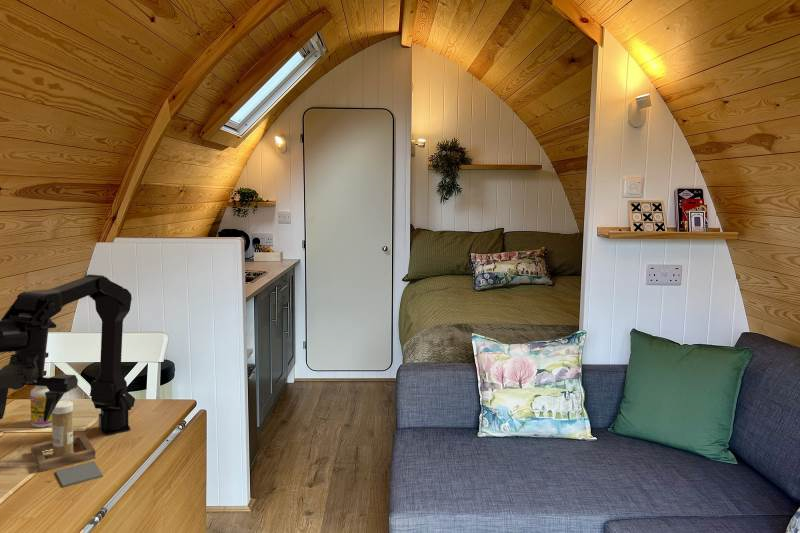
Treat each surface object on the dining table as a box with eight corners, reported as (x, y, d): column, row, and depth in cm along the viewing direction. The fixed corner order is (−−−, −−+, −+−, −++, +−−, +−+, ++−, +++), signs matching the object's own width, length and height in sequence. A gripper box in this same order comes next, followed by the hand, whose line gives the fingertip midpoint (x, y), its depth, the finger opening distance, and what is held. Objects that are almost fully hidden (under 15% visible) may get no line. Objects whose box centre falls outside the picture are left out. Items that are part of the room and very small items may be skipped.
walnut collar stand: (84, 440, 142) (83, 433, 142) (95, 458, 134) (95, 450, 134) (31, 452, 135) (30, 445, 134) (39, 472, 126) (39, 463, 126)
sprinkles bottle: (77, 455, 135) (76, 403, 133) (57, 461, 131) (56, 408, 129) (68, 449, 137) (67, 398, 136) (48, 455, 134) (47, 403, 132)
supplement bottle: (25, 425, 149) (23, 380, 147) (47, 416, 155) (46, 373, 154) (43, 430, 147) (42, 384, 145) (65, 421, 153) (64, 377, 152)
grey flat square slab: (94, 462, 132) (94, 461, 132) (102, 476, 126) (102, 474, 126) (55, 472, 126) (55, 470, 126) (62, 487, 121) (62, 485, 120)
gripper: (-40, 351, 111) (-49, 427, 110) (58, 357, 113) (50, 432, 113) (-7, 344, 122) (-15, 414, 121) (82, 350, 124) (74, 418, 124)
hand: (23, 420), depth 120 cm, fingers open, 9 cm apart
